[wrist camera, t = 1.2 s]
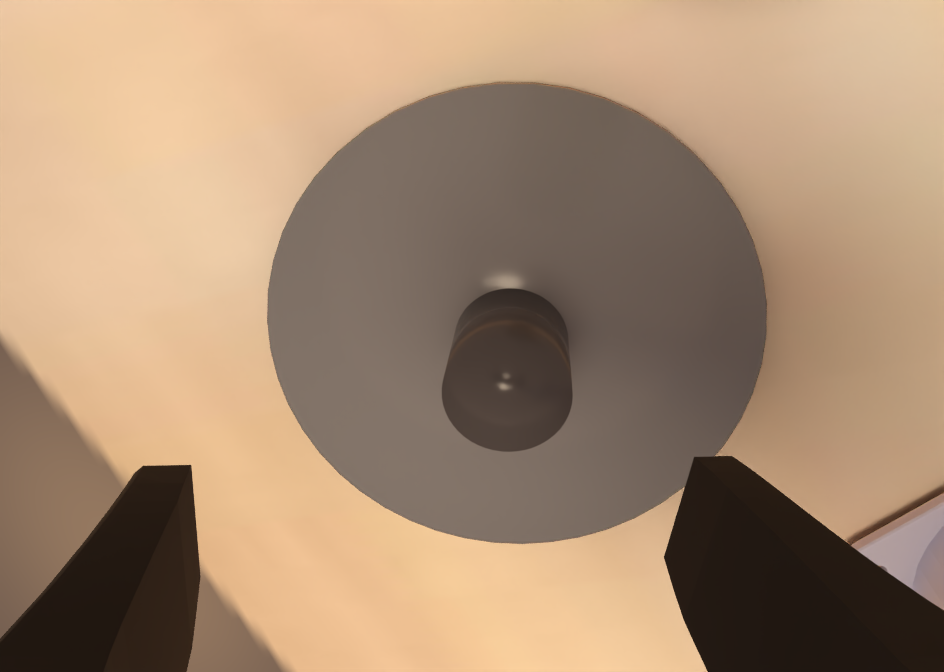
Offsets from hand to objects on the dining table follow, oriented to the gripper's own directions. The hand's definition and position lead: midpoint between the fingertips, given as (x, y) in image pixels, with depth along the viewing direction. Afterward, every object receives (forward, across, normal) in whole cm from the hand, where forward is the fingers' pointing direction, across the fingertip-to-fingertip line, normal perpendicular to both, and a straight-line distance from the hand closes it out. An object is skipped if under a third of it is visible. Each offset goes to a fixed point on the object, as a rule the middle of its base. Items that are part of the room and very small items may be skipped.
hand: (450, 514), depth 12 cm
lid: (+10, -3, +3) cm, 11 cm away
